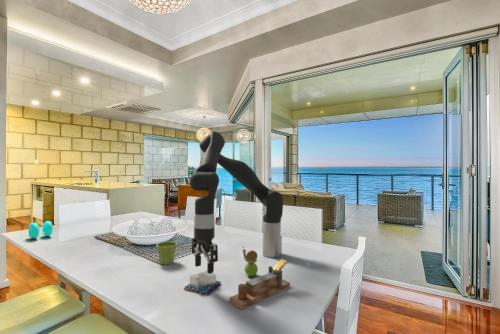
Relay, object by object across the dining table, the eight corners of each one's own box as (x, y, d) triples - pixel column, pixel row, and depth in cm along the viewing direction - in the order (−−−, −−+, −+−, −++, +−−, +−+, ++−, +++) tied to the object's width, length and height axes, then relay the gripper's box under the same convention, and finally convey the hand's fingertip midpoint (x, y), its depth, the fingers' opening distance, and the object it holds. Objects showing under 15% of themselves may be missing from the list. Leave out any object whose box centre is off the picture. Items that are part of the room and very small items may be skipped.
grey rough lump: (207, 278, 97) (207, 270, 97) (215, 282, 93) (216, 274, 93) (189, 284, 92) (189, 276, 92) (197, 289, 88) (197, 281, 88)
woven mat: (198, 280, 99) (199, 275, 99) (222, 286, 95) (222, 280, 95) (182, 292, 90) (182, 286, 90) (207, 298, 85) (207, 292, 86)
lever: (271, 271, 94) (281, 260, 98) (278, 274, 91) (288, 263, 95) (270, 269, 93) (280, 258, 97) (277, 272, 91) (287, 261, 95)
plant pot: (151, 264, 113) (151, 245, 114) (165, 258, 122) (165, 240, 122) (167, 267, 110) (168, 248, 110) (181, 260, 119) (181, 242, 119)
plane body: (277, 281, 98) (278, 263, 98) (289, 286, 94) (290, 267, 94) (229, 301, 82) (229, 280, 82) (241, 309, 77) (241, 286, 78)
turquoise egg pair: (27, 238, 153) (28, 222, 154) (47, 235, 162) (48, 219, 162) (32, 241, 148) (33, 224, 148) (53, 237, 156) (53, 221, 156)
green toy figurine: (241, 273, 105) (242, 244, 106) (256, 272, 106) (257, 244, 106) (242, 278, 100) (242, 248, 100) (258, 278, 100) (258, 248, 101)
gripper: (185, 224, 95) (185, 266, 95) (206, 230, 85) (205, 278, 85) (202, 221, 100) (202, 261, 100) (223, 227, 90) (223, 272, 90)
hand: (204, 269), depth 92 cm, fingers open, 8 cm apart
